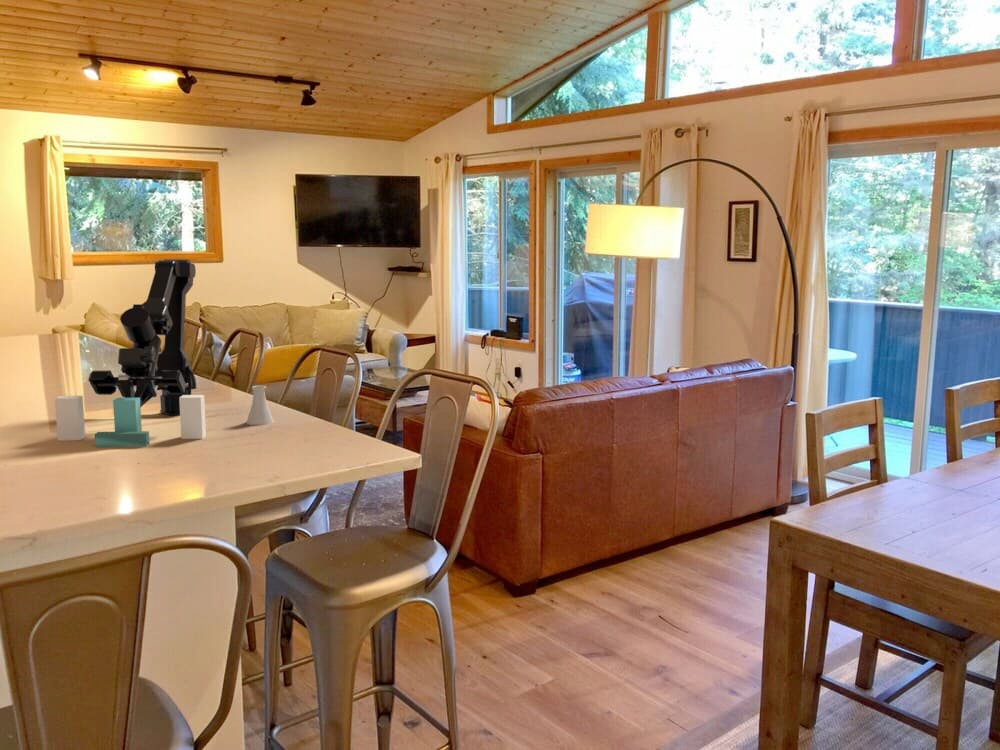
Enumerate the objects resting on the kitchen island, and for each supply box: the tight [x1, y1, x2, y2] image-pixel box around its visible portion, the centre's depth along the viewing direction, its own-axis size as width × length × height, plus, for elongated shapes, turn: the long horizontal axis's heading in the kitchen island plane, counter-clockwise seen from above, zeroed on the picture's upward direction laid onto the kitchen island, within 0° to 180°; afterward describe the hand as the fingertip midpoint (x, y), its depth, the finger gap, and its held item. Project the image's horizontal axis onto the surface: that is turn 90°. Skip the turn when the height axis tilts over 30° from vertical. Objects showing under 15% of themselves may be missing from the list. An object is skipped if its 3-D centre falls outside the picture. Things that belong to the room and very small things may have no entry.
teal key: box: [112, 397, 143, 432], centre depth 171 cm, size 3×4×9 cm
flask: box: [246, 385, 275, 426], centre depth 191 cm, size 7×7×10 cm
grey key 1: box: [54, 395, 86, 442], centre depth 172 cm, size 3×4×9 cm
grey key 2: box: [179, 394, 207, 440], centre depth 175 cm, size 3×4×9 cm
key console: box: [94, 430, 150, 448], centre depth 171 cm, size 12×31×4 cm, turn 96°
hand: (130, 414), depth 172 cm, fingers closed, pressing on teal key
